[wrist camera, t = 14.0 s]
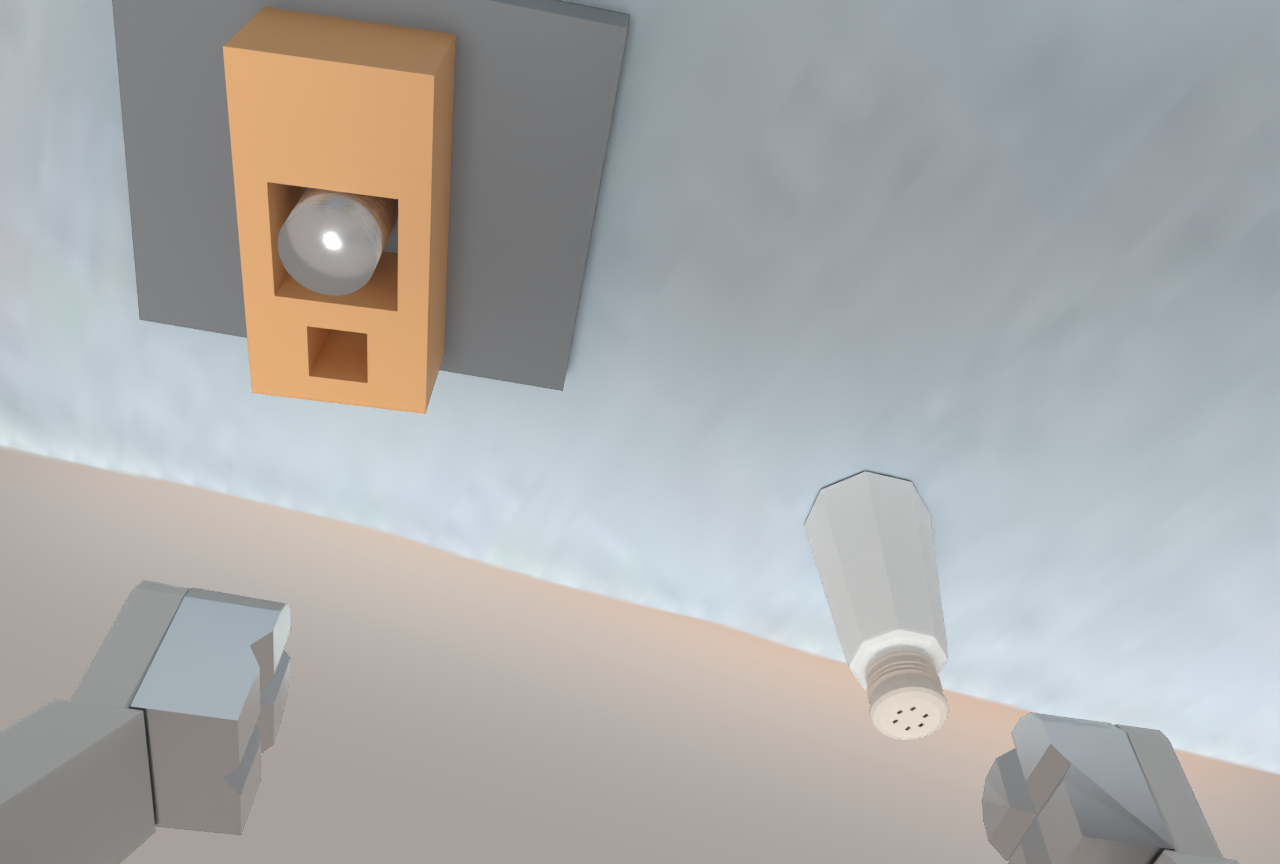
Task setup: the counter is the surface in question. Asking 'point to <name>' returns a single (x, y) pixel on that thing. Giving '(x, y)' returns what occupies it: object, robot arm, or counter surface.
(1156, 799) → the robot arm
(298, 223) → the steel post
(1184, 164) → the counter surface
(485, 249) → the base plate
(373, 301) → the orange block with recesses
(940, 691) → the pepper shaker
